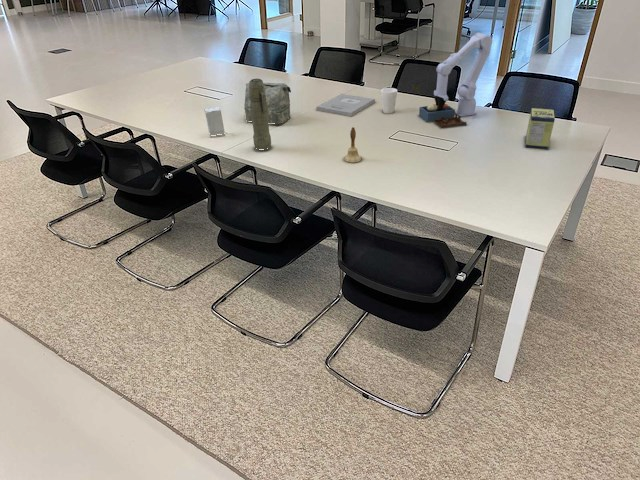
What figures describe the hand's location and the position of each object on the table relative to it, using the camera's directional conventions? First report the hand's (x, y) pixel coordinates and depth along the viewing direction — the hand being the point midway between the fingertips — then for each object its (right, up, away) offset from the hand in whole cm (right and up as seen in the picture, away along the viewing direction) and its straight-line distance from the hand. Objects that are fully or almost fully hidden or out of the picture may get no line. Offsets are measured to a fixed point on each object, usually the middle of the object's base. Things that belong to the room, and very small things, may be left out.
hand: (439, 109), depth 282 cm
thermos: (-98, -28, -28) cm, 106 cm away
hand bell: (-53, -36, -43) cm, 77 cm away
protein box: (+41, -26, -34) cm, 59 cm away
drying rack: (+4, -10, -8) cm, 13 cm away
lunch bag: (-99, -4, +8) cm, 99 cm away
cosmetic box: (-126, -17, -10) cm, 128 cm away
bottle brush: (-2, +1, -1) cm, 2 cm away
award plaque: (-53, +9, +25) cm, 59 cm away
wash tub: (-1, -4, +2) cm, 5 cm away
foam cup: (-28, +2, +13) cm, 31 cm away
